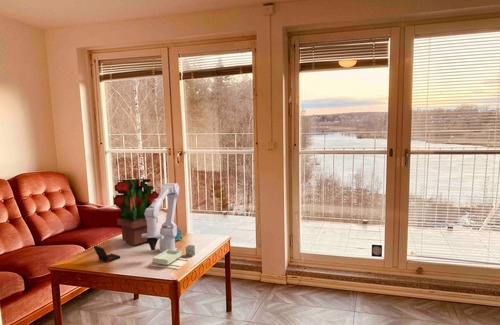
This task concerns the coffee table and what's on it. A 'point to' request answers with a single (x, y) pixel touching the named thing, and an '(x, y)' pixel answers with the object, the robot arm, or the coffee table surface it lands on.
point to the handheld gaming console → (105, 255)
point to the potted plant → (134, 209)
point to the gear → (178, 235)
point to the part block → (190, 251)
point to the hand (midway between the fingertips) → (153, 249)
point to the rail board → (172, 263)
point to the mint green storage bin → (167, 256)
